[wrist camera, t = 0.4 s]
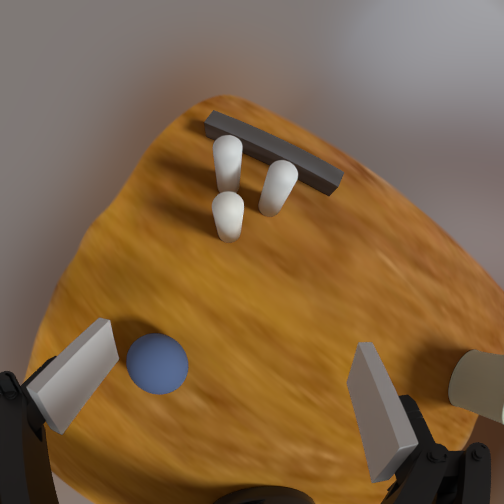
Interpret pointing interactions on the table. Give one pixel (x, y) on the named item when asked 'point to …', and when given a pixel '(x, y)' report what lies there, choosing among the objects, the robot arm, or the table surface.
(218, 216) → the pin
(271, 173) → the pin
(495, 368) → the can
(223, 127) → the back wall
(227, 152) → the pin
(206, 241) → the table surface
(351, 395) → the robot arm
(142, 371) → the ball
